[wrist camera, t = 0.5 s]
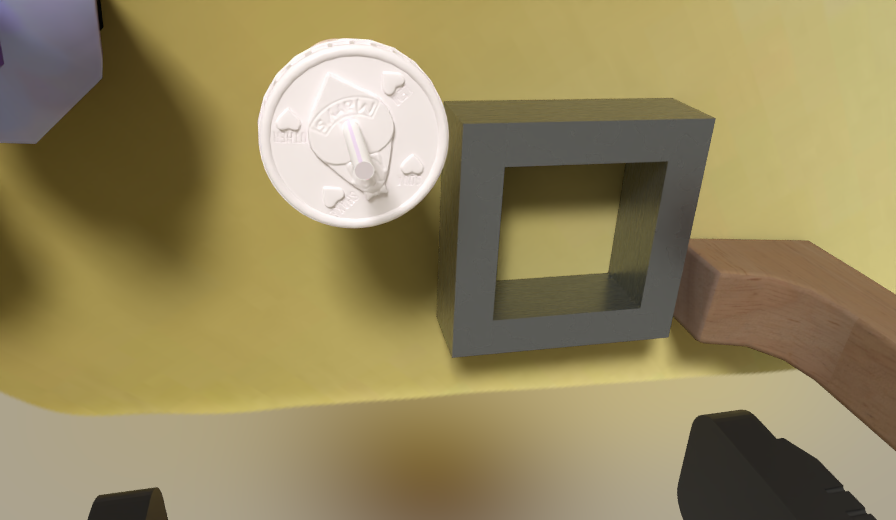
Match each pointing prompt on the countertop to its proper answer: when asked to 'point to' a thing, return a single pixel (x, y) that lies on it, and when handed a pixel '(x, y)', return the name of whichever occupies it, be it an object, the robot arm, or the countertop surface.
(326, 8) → the countertop surface
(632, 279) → the frame
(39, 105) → the potion bottle
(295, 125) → the smoothie
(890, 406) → the wooden block
